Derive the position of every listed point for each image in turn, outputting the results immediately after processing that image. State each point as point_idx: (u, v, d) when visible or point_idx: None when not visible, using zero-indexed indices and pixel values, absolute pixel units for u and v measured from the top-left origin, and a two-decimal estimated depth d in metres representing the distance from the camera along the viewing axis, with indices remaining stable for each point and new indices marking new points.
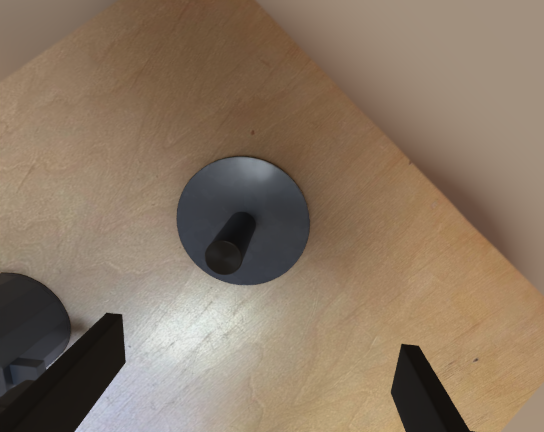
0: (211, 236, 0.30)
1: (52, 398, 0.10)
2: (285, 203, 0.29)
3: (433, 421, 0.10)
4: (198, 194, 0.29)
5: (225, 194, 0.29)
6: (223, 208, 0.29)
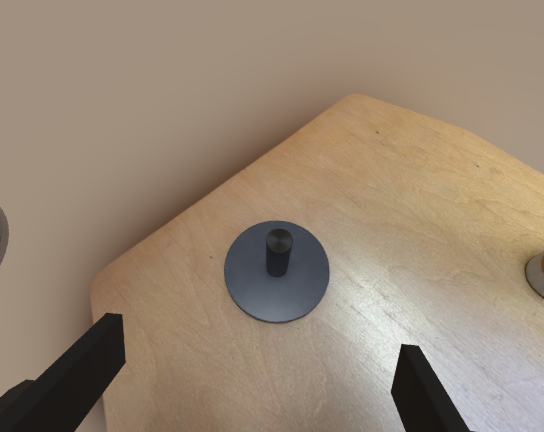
0: (285, 292, 0.36)
1: (52, 398, 0.10)
2: (262, 235, 0.40)
3: (433, 421, 0.10)
4: (249, 298, 0.36)
5: (251, 277, 0.37)
6: (262, 279, 0.37)
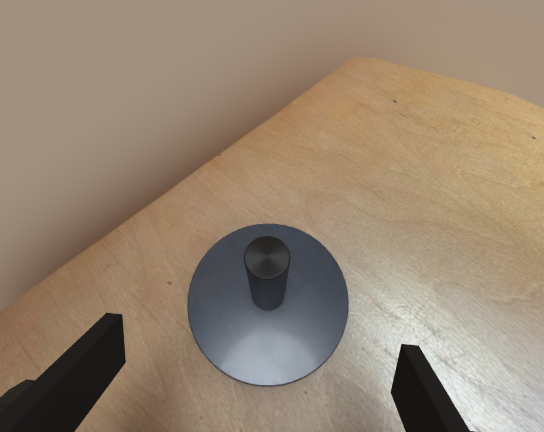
0: (283, 334, 0.23)
1: (52, 398, 0.10)
2: (245, 246, 0.27)
3: (433, 421, 0.10)
4: (226, 348, 0.23)
5: (229, 312, 0.24)
6: (247, 315, 0.24)
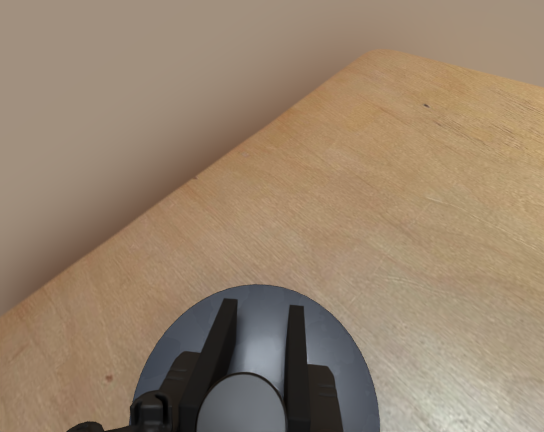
0: None
1: (218, 364, 0.12)
2: None
3: (287, 357, 0.12)
4: None
5: None
6: None
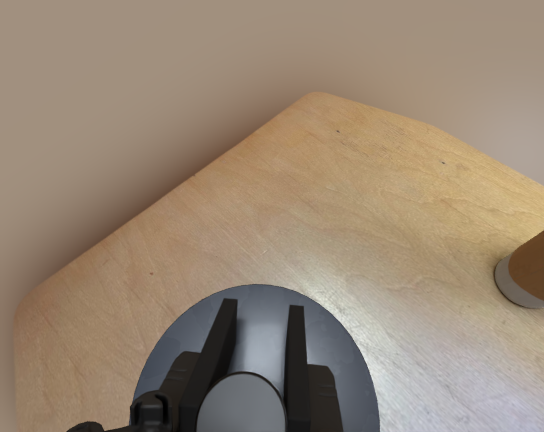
0: None
1: (218, 364, 0.12)
2: None
3: (287, 357, 0.12)
4: None
5: None
6: None
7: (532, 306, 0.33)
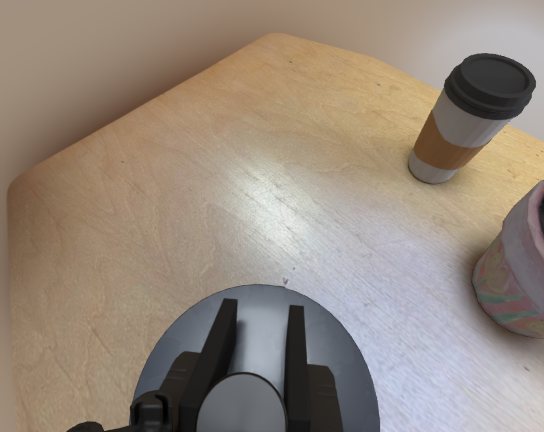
0: None
1: (218, 364, 0.12)
2: None
3: (287, 357, 0.12)
4: None
5: None
6: None
7: (433, 179, 0.40)
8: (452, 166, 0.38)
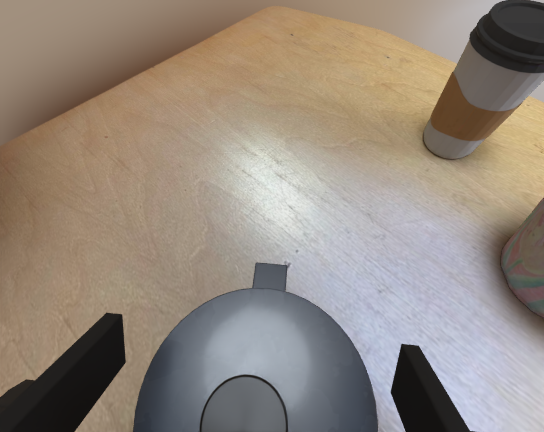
0: None
1: (52, 398, 0.10)
2: (224, 324, 0.19)
3: (433, 421, 0.10)
4: None
5: None
6: None
7: (452, 153, 0.36)
8: (475, 137, 0.33)
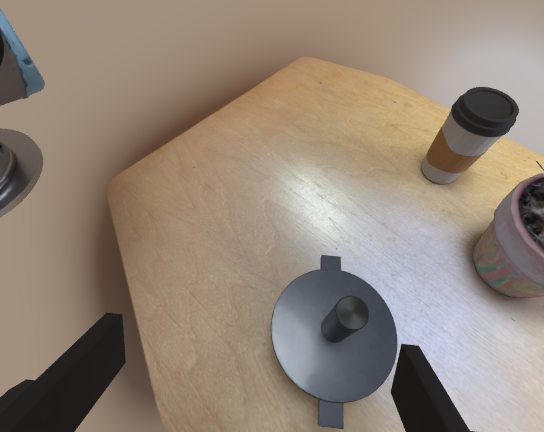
0: (348, 362, 0.30)
1: (52, 398, 0.10)
2: (311, 288, 0.34)
3: (433, 421, 0.10)
4: (306, 372, 0.30)
5: (305, 343, 0.31)
6: (319, 346, 0.31)
7: (442, 180, 0.51)
8: (457, 170, 0.49)
